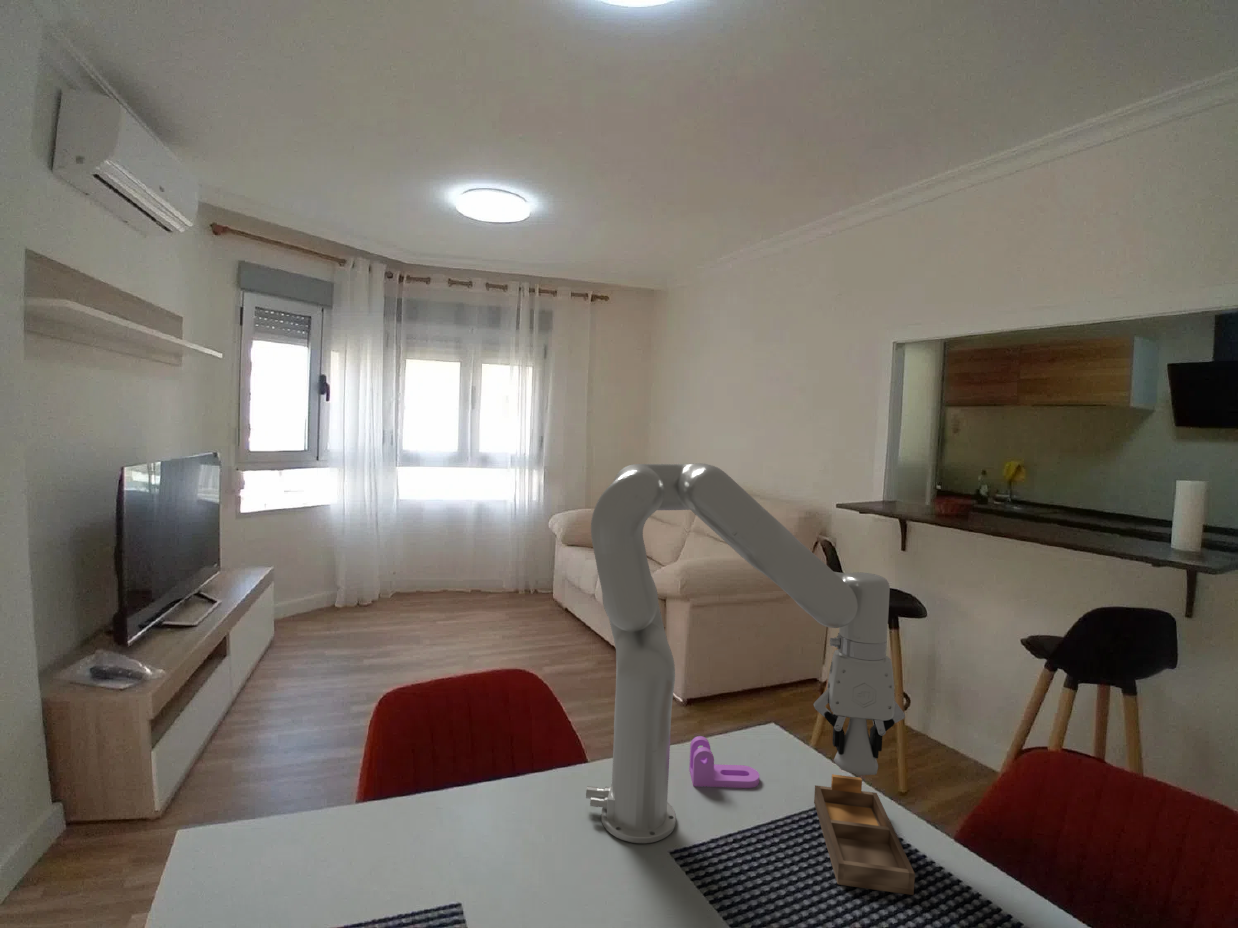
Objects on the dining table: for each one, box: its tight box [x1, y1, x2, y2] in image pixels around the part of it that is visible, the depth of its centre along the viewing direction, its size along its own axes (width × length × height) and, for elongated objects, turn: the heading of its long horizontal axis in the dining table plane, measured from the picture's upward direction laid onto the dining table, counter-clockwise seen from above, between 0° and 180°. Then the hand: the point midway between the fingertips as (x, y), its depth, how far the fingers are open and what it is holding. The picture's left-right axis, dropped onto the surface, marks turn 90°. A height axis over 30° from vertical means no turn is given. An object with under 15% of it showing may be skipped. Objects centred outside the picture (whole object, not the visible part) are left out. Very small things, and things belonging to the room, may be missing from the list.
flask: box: [833, 718, 879, 776], centre depth 103 cm, size 7×7×10 cm
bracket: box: [688, 735, 760, 789], centre depth 116 cm, size 13×6×7 cm, turn 91°
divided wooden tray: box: [813, 773, 916, 896], centre depth 98 cm, size 11×20×6 cm, turn 171°
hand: (856, 751), depth 103 cm, fingers closed on flask, 4 cm apart
